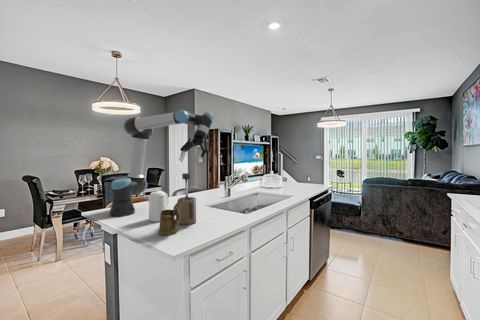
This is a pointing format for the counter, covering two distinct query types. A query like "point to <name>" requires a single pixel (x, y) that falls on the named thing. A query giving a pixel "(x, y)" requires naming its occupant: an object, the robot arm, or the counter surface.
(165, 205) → the coffeepot
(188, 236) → the counter surface
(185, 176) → the plunger
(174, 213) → the wooden mug
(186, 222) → the press carafe
